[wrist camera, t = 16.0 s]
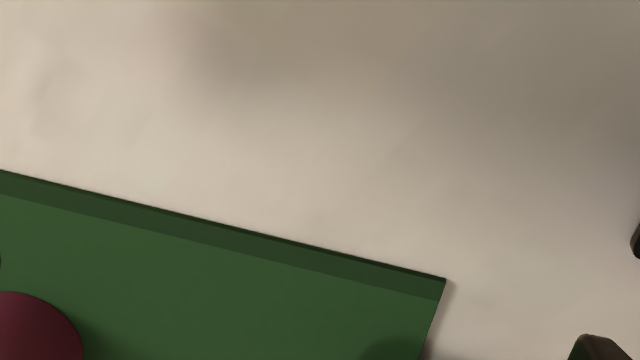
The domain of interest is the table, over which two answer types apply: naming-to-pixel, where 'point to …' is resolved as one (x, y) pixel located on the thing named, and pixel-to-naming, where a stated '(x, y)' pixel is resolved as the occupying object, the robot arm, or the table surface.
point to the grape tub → (35, 330)
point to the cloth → (201, 284)
